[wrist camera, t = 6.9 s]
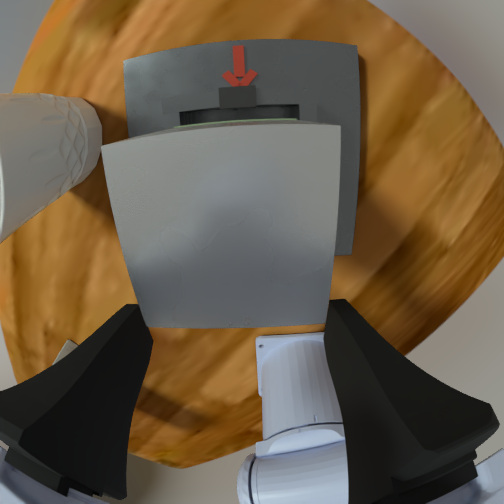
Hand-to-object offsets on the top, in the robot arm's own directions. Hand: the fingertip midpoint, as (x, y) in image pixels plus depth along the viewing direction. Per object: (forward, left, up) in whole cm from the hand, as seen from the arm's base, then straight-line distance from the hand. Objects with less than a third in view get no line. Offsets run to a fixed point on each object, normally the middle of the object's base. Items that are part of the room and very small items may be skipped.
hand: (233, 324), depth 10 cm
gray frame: (+5, 0, -10) cm, 11 cm away
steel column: (+5, 0, -4) cm, 6 cm away
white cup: (+8, +12, -10) cm, 17 cm away
